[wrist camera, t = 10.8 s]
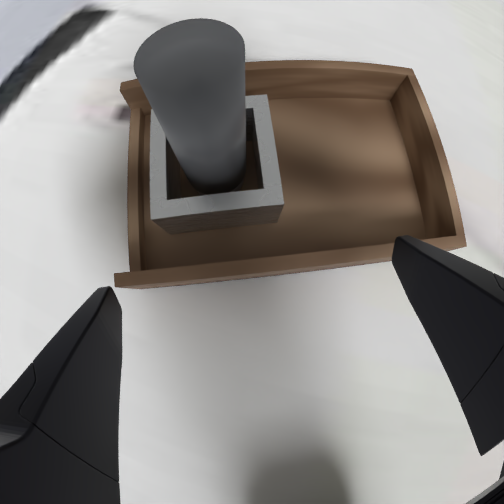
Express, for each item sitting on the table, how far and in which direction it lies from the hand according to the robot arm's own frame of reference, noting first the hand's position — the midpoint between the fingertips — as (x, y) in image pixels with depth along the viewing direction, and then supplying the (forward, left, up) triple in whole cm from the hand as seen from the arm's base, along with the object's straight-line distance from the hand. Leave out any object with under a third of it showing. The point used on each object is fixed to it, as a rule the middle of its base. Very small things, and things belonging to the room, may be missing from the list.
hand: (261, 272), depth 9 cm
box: (+8, +2, -12) cm, 15 cm away
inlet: (+5, +6, -12) cm, 14 cm away
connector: (+5, +6, -12) cm, 14 cm away
